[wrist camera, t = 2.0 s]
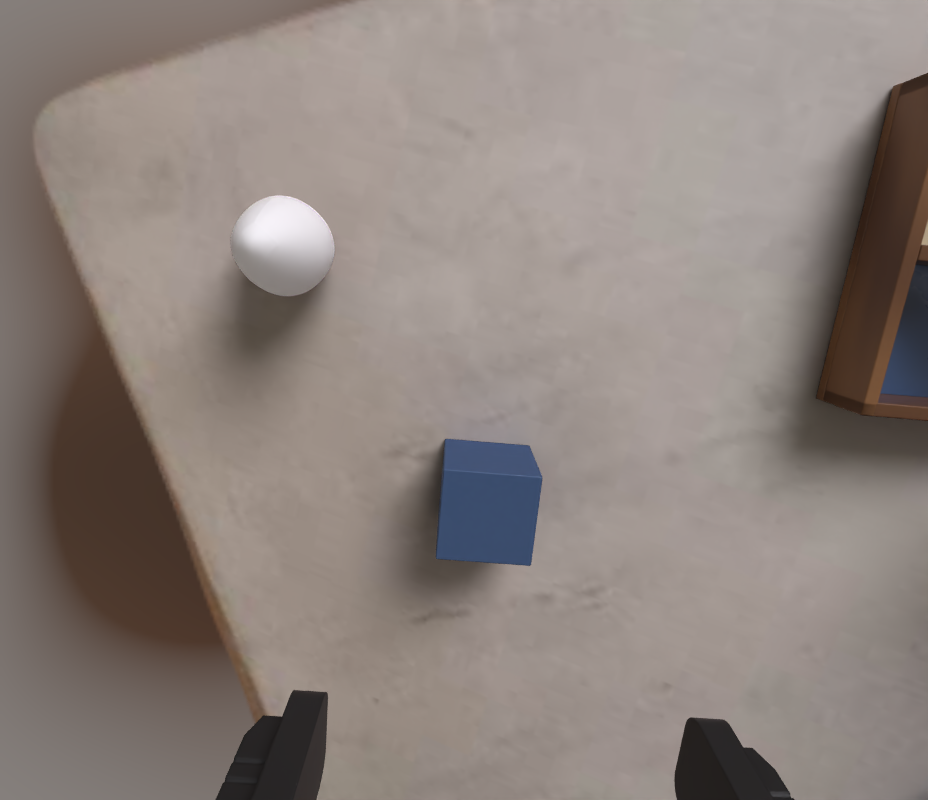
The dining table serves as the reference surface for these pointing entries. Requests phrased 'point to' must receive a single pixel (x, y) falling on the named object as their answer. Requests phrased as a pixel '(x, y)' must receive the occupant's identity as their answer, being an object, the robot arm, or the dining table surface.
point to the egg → (282, 245)
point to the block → (488, 502)
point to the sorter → (887, 277)
